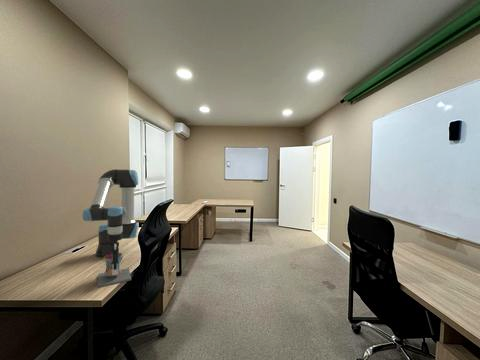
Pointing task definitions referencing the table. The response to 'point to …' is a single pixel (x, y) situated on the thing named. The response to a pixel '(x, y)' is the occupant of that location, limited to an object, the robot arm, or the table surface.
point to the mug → (109, 260)
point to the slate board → (114, 278)
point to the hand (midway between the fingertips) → (114, 271)
